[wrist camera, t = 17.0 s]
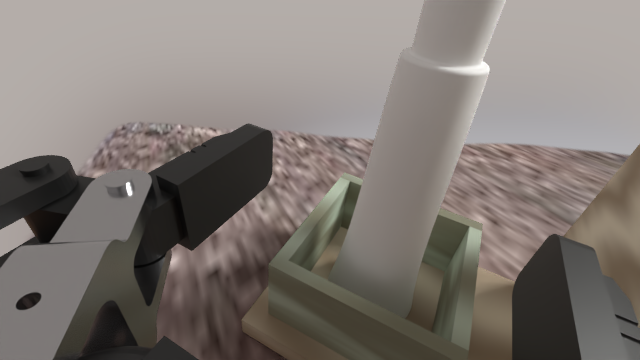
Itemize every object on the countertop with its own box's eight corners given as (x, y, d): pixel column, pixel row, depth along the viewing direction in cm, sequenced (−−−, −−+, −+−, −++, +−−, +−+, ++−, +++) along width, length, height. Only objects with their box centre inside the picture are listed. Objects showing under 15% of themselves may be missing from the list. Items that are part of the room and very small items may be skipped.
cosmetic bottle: (416, 339, 20) (710, -173, 7) (322, 322, 20) (424, -201, 7) (407, 263, 24) (564, -117, 11) (331, 250, 25) (401, -135, 12)
